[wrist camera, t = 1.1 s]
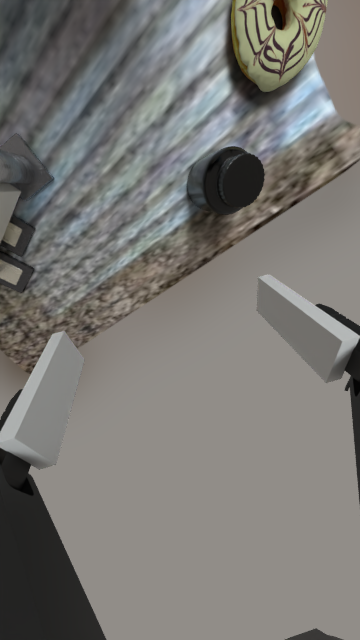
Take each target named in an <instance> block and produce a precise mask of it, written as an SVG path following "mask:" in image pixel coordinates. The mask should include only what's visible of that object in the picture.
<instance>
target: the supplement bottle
mask: <svg viewBox="0 0 360 640" xmlns="http://www.w3.org/2000/svg"><path fill="white" fill-rule="evenodd" d="M264 175H265V174H264V169H263V165H262V164H261V161H260V160H259V159H258V157H255V155H251V154H250V153H247V152H246V151H245V150H244V149H242V148H240V147H235V146H231V147H226V148H223V149H221V150H218V151H216V152H214V153H212V154H210V155H207V156H205V157H203V158H201V159H200V160H198V161H197V162H196V163H195V164H194V166H193V167H192V169H191V171H190V173H189V176H188V182H187V188H188V194H189V197H190V199H191V201H192V202H193V203H194V204H195V205H196V206H197V207H198V208H200V209H203V210H206V211H210V212H213V213H217V214H221V215H229V214H233V213H235V212H237V211H239V210H240V209H242V208H243V207H246V206H247V205H250V204H251V203H253V202H254V200H255V199H257V196H259V194H260V192H261V190H262V187H263V182H264Z"/></svg>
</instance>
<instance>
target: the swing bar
mask: <svg viewBox="0 0 360 640" xmlns="http://www.w3.org/2000/svg"><path fill="white" fill-rule="evenodd" d="M20 193H21V191H20V190H18V189H17V188H15V187H14V186H12V185H11V184H9V183H0V243H1V240H2V238H3V235H4V233H5V231H6V228H7V226H8V223H9V221H10V218H11V216H12V213H13V211H14V208H15V206H16V203H17V201H18V198H19V196H20Z"/></svg>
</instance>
